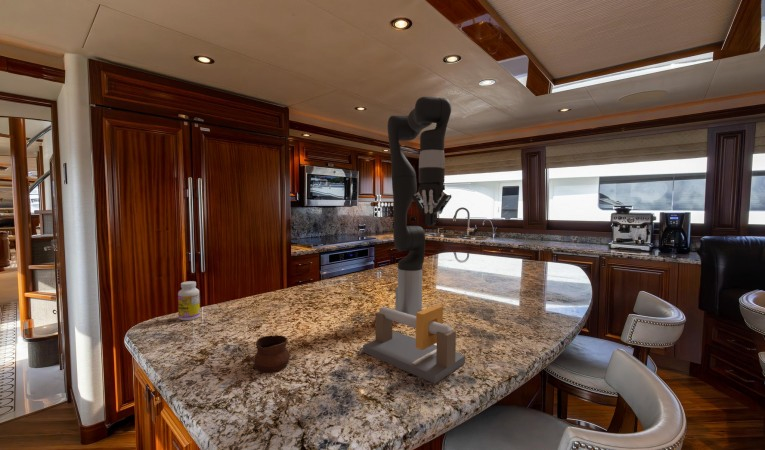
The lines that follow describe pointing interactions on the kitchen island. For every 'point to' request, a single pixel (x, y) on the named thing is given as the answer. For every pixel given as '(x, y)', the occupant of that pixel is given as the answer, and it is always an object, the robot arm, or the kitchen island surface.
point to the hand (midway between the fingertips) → (430, 226)
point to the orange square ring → (427, 326)
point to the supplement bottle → (188, 301)
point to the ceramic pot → (271, 354)
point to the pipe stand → (414, 347)
